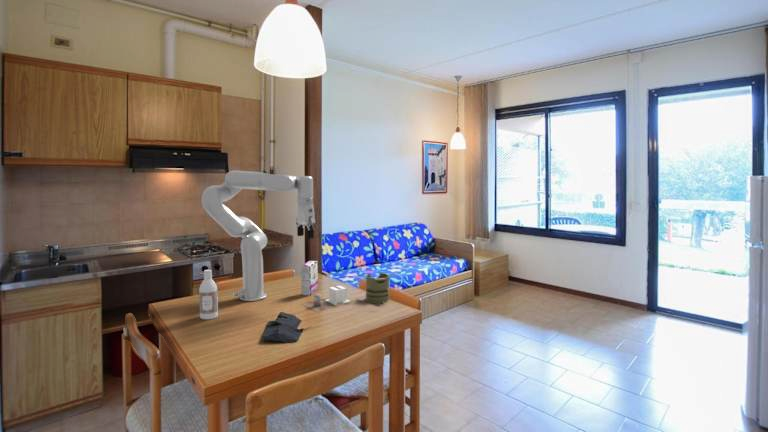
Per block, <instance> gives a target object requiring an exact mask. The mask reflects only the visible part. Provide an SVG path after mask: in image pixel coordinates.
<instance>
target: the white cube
mask: <svg viewBox="0 0 768 432" xmlns="http://www.w3.org/2000/svg"><path fill="white" fill-rule="evenodd" d="M347 294H348V288H347V287H344V286H342V285H336V286H330V287H328V298H329V300H330V301H332V302H334V303H340V302H344V301H347V298H348V295H347Z"/></svg>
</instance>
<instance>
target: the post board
mask: <svg viewBox="0 0 768 432" xmlns="http://www.w3.org/2000/svg"><path fill="white" fill-rule="evenodd" d="M313 294H314V295H313V300H312V301H308V302H307V301H306V302H303V303H300V305H301V306H303V307H305V308H306V309H309V310H310V311H312V312H314V313H318V312H322V311H327V310H331V309H334V308H339V307H344V306H346V305H347V306H348V305H351V304H356V303H357V301H355V300H354V299H350V298H348V297H347V301H344V302H340V303H334V302H332V301H330V300H329V297H326V298H322V294H321V293H313Z"/></svg>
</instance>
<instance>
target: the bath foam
mask: <svg viewBox="0 0 768 432" xmlns="http://www.w3.org/2000/svg"><path fill="white" fill-rule="evenodd" d="M217 285H218V284H216V282H215V281H214V280H213V274H212V269H204V271H203V280H202V282H201V283H200V285H199V289H198V295H199V296H198V297H199V298H198V301H199V318H200V319H201V320H206V321H207V320H213V319H215V318H217V317H218V316H219V305H218V303H219V300H218V296H219V295H218V286H217Z"/></svg>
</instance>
